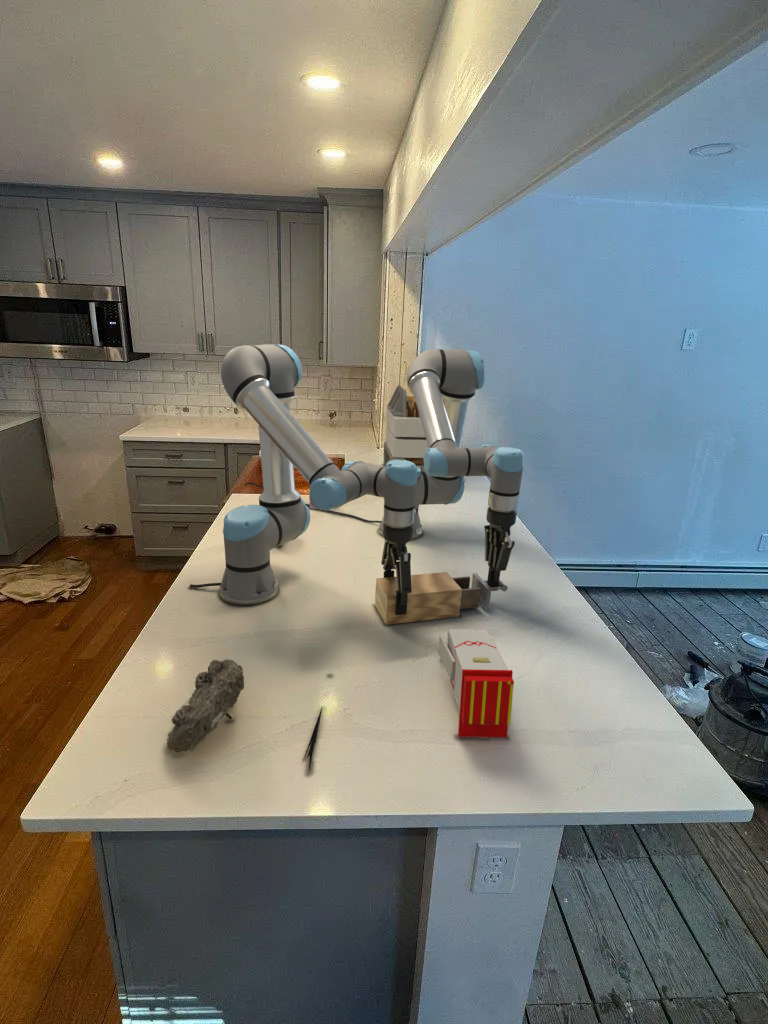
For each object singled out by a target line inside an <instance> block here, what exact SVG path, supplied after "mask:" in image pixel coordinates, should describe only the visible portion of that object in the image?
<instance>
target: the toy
mask: <svg viewBox="0 0 768 1024" xmlns="http://www.w3.org/2000/svg"><path fill="white" fill-rule="evenodd" d="M446 640H447V643H446V641H445V639H444V636H443V635H442V634H439V637H438V646H437V656H438V657H439V659H440V661H441V663H442V666H443V668H444V670H445V672H446V674H447V677H448V679H449V681H450V684H451V687H452V690H453V693H454V697H455V701H456V705H457V708H458V711H459V714H458V715H459V716H458V730H457V731H458V732H457V737H458V738H508V731H509V726H510V725H511V717H512V707H513V697H514V696H513V695H514V684H515V680H514V679H513V673H514V671H513V670H512V669H508V667H507V665H506V662H505V661H504V659H503V658H502V655H501V653H500V651H499V649H498V647H497V643H496V639H495V637H494V635H493V634H491V632H490V631H489V629H467V628H466V629H465V628H463V629H461V628H460V629H459V628H448V630H447V639H446Z"/></svg>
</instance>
